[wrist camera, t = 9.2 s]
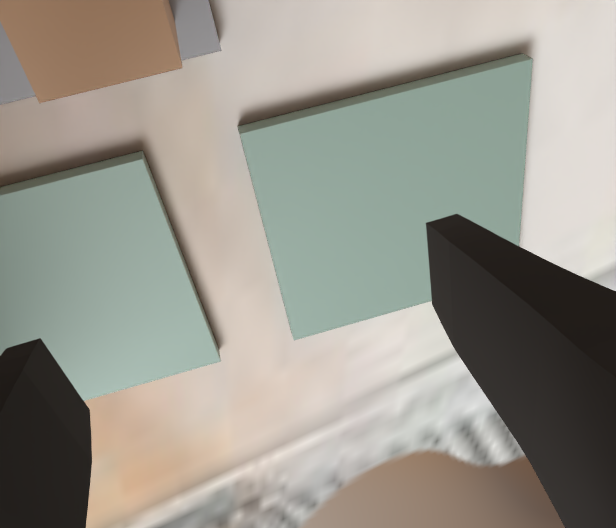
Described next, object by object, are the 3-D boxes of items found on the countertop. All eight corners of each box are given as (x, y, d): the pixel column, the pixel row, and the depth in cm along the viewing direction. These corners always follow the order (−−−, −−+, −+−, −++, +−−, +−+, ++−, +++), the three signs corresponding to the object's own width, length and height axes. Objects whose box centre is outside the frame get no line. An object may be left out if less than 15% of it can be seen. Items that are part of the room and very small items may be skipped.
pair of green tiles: (-19, 418, 22) (-22, 431, 22) (-176, 232, 17) (-185, 242, 16) (509, 267, 24) (516, 276, 24) (522, 53, 19) (532, 58, 18)
